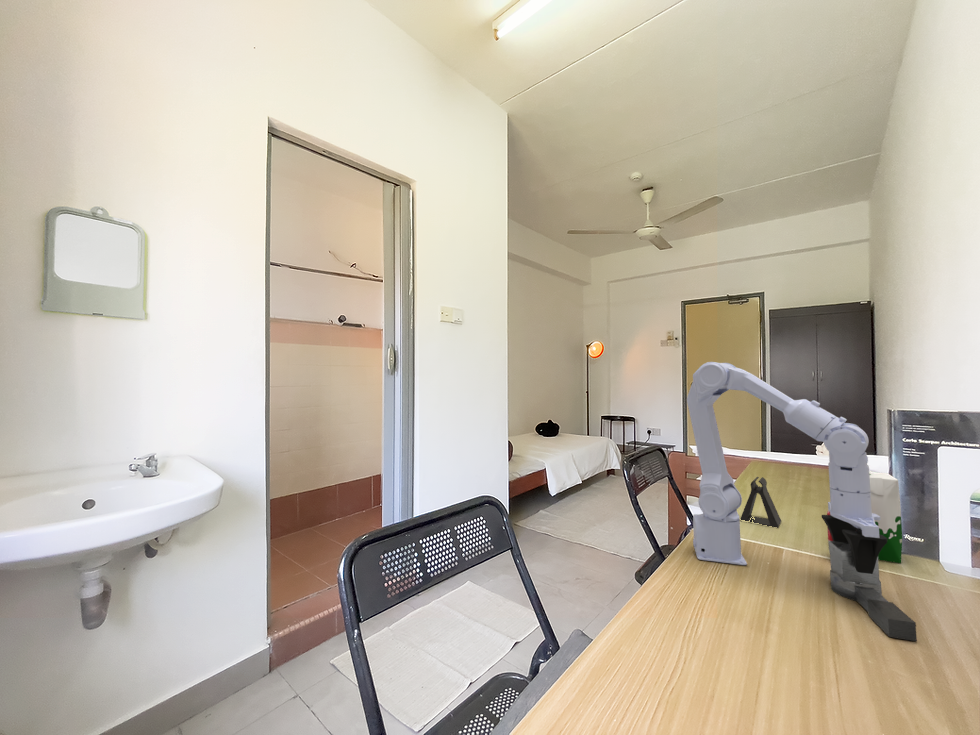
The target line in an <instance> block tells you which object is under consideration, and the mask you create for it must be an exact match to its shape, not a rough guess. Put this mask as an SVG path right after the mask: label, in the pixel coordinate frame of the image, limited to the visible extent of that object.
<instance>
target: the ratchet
mask: <svg viewBox="0 0 980 735" xmlns="http://www.w3.org/2000/svg"><path fill="white" fill-rule="evenodd" d="M829 576H830V578H829V579H830V589H831V590H832V591H833V592H834V593H835V594H837V595H839V596H841V597H843V598H845V599H849V600H852V601H855V602H858V604H859V605H861V607H863V608H864V610H866V612H868V617H870V619H871V620H872V621H873V622H874V623H875V624H876V625H877V626H878V627H879V628H880V629H881V630H882V631H883V632H884V633H885V634H886V635H887V636H888V637H890V638H894V639H895V638H896V639H900V640H905V641H906V640H907V641H913V642H917V641H918V640H917V639H918V638H917V624H916V621H914V620H913V619H912V618H911V617H910V616H908V615H907V614H906V613H905V612H904V611H903V610H902V609H900V608H899V607H898V605H897V604H895V603H894V602H893V601H888V600H887V598H885V597H884V596H883V594H882V593H883V592H882V591H883V590H882V582H881V580H880V585H873V584H865V583H857V582H850V581H843V580H842V579H841V578H840V577H839V576H838V575H837V574H836V573H835V572H834V571H833V570H832V569H831V568H830V570H829Z"/></svg>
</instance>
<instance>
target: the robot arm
mask: <svg viewBox="0 0 980 735" xmlns="http://www.w3.org/2000/svg"><path fill="white" fill-rule="evenodd" d="M730 390H732V391H740V392H741V391H742V392H746V393H748V394H749V395H751V396H753V397H755V398H758V399H759V400H761V401H762V402H764V403H766V404H768V405H770V406H772V408H775V409H776V410H777V411H778V410H779V411H780V412H782V413H783V416H784V420H785V422H786V423H787V424H790V425H791V426H793V427H794V428H796V429H797V430H799V431H801V432H802V433H803V434H806V435H807V436H809V437H810V438H812V439H814V440H815V441H817V442H823V446H824V447H825V448H826V450H827V451H828V457H829V459H828V460H829V462H828V478H829V479H828V480H829V501H828V502H827V511H829V512H830V515H827V514H821V519H822V521H824V523H825V525H826V527H828V529H829V531H830V534H831V537H832V540H833V541H838V542H848V543H849V546H850V549H851V552H852V557H853V562H854V566H855V568H856V571H857V572H859V573H868V574H873V571H874V568H875V564H876V560H877V557H878V555H879V553H880V551H881V549H882V548H883V547H884V545H885V544H886V543H887V538H886V537H885V536H883V535H879V527H878V526H877V525H876V524H875V521H874V520H880V516H878V515H877V514H873V513H872V508H871V492H870V475H869V471H870V467H869V466H870V465H868V463H869V457H868V454H867V452H866V451H867V448H868V447H869V437H868V434H867V433H866V432H865V431H864V430H863V429H862V428H861V427H859V425H857V424H855V423H849V422H846V421H848V419H847V418H845V417H843V416H840V417H838V416H836V415H835V414H833V413H831V412H829V411H827V410H826V409H824V408H823V407H820V405H821V403H820V402H818V401H816V400H811V401H810V400H808V399H806V398H802V399H793V398H792V397H790V396H788V395H787V394H785V393H783V392H782V391H780V390H778V389H777V388H775V387H773V385H771V384H769V383H767V382H765V381H764V380H762V379H761V378H759V377H758V376H756V375H755V374H753V373H751V372H750V371H749V372H748V371H747V370H745V369H743V368H739V367H736V366H735V365H733V364H732V363H729V362H715V361H707V362H705V363H703V364H702V365H700V366H699V367H698V369H697V370H696V371H695V372H694V373H693V374H692V383H691V386H690V389H689V391H688V394H687V397H686V404H687V407H688V413H689V417H690V422H691V423H690V424H691V426H692V432H693V436H694V441H695V442H694V443H695V447H696V451H697V456H698V460H699V464H700V470H701V478H700V482H699V498H698V501H697V502H698V506H699V508H700V510H701V512H702V513H701V514H698V513H697V514H696V513H695V514H693V515H692V516H693V517H692V523H693V524H692V530H693V539H692V544H693V547H694V548H693V549H694V551H695V554H696V559H698V560H702V561H709V562H715V563H722V564H723V563H725V564H732V565H739V566H747V565H748V563H747V561H746V559H745V557H744V555H743V553H742V545H741V544H742V543H741V542H742V541H741V523H740V522H741V521H740V515H739V513H738V509H739V508H740V507H741V505H742V502H743V498H742V494H741V492H740V491H739V490H738V488H737V487H736V484H735V483H734V478H733V477H732V476H731V475H730V473H729V472H728V469H727V463H726V460H725V455H724V450H723V445H722V440H721V437H720V436H721V435H720V431H719V427H718V423H717V419H716V413H715V409H714V404H715V402H716V401H718V399H719V398H720V397H721V396H722V395H723V394H725V393H726V392H728V391H730ZM828 529H827V530H828Z"/></svg>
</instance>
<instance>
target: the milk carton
mask: <svg viewBox="0 0 980 735" xmlns="http://www.w3.org/2000/svg"><path fill="white" fill-rule="evenodd" d="M869 475H870V492H871V508H872V513H873V514H877V515H878V516H880V520H874V521H875V524H876V525H877V526H878V527H879V535H883V536H885V537H886V538H887V543H886V544H885V545H884V547H883V548H882V549H881V551H880V553H879V555H878V561H882V562H883V561H884V562H888V563H896V564H902V553H903V550H902V549H903V525H902V523H903V522H902V511H901V510H902V508H901V494H900V487H899V486H900V485H899V479H898V478H896V477H894V476H892V475H891V474H890V473H888V472H874V471H871V470H869Z"/></svg>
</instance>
